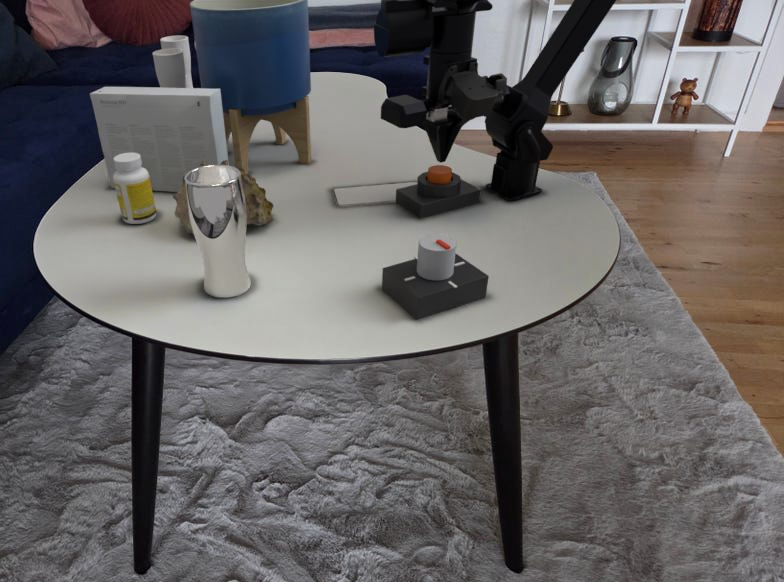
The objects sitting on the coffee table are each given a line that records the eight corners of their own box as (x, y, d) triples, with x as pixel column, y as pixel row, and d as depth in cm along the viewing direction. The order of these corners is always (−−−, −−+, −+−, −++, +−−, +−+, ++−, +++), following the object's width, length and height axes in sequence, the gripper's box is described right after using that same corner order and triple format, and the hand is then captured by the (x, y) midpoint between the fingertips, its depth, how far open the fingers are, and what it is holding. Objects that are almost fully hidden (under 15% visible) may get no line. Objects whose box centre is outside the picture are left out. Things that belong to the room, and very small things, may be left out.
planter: (192, 171, 116) (167, 8, 100) (240, 137, 130) (224, -11, 113) (289, 182, 109) (278, 10, 93) (328, 145, 123) (324, -10, 107)
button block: (452, 187, 104) (454, 164, 102) (479, 203, 99) (482, 178, 97) (395, 202, 101) (396, 178, 99) (420, 218, 96) (422, 193, 93)
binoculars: (196, 155, 122) (181, 54, 111) (168, 157, 122) (150, 56, 111) (202, 127, 136) (189, 34, 125) (176, 129, 136) (161, 36, 125)
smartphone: (331, 188, 106) (420, 180, 107) (331, 191, 107) (419, 184, 107) (337, 206, 100) (430, 198, 101) (337, 210, 101) (430, 202, 101)
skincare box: (233, 183, 110) (221, 87, 100) (222, 196, 106) (209, 97, 96) (124, 176, 115) (103, 84, 105) (109, 188, 111) (86, 93, 101)
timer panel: (445, 268, 84) (447, 246, 82) (487, 298, 78) (490, 275, 76) (380, 287, 81) (381, 265, 79) (418, 320, 74) (420, 298, 72)
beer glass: (202, 274, 85) (184, 165, 76) (253, 270, 86) (242, 161, 76) (199, 302, 80) (180, 188, 71) (254, 297, 80) (242, 183, 71)
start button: (441, 174, 100) (442, 163, 99) (455, 181, 97) (456, 170, 96) (422, 178, 99) (423, 168, 98) (436, 186, 96) (437, 175, 95)
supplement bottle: (163, 212, 102) (151, 152, 96) (146, 226, 98) (132, 164, 92) (134, 209, 103) (120, 149, 98) (116, 223, 99) (101, 162, 94)
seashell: (174, 228, 100) (156, 168, 93) (259, 200, 103) (248, 140, 97) (194, 260, 92) (175, 197, 85) (285, 229, 95) (274, 165, 89)
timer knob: (409, 268, 78) (411, 236, 76) (439, 259, 80) (442, 228, 77) (430, 284, 75) (433, 251, 72) (460, 274, 76) (464, 242, 74)
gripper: (427, 71, 78) (419, 192, 87) (545, 50, 84) (526, 165, 93) (380, 55, 86) (377, 167, 95) (491, 36, 92) (478, 144, 101)
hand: (441, 161), depth 96 cm, fingers closed
